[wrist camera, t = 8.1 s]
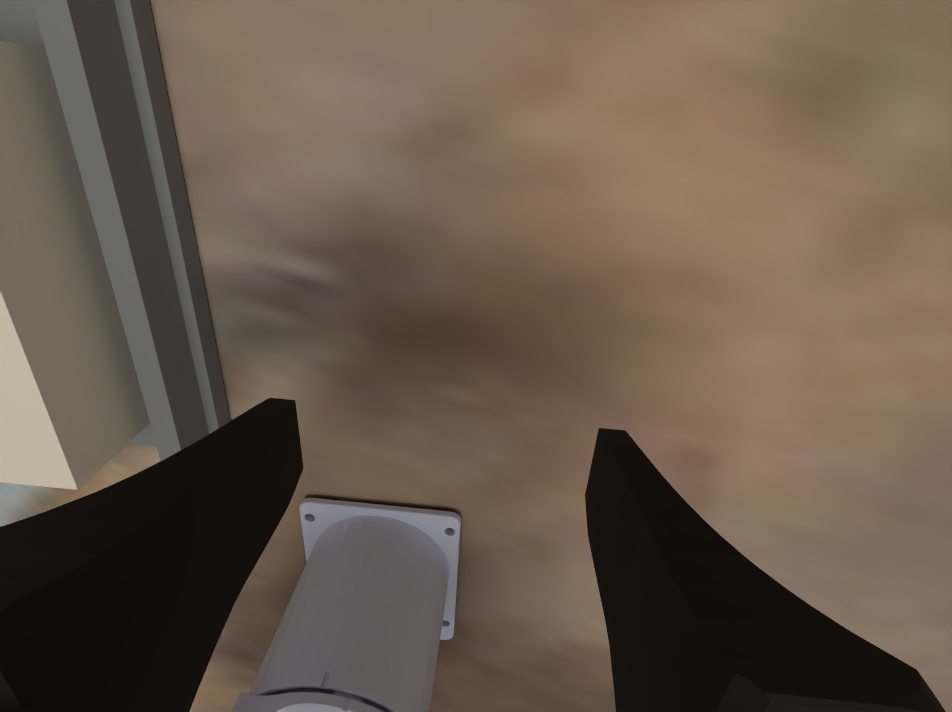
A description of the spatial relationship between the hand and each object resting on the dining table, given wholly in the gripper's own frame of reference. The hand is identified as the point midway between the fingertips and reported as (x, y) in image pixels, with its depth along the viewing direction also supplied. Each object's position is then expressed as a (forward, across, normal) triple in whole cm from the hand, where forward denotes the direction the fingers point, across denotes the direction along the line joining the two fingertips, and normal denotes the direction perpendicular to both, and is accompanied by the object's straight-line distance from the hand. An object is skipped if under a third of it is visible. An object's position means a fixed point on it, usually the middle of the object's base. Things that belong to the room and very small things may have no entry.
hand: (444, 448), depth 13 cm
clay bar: (+8, +15, -1) cm, 17 cm away
